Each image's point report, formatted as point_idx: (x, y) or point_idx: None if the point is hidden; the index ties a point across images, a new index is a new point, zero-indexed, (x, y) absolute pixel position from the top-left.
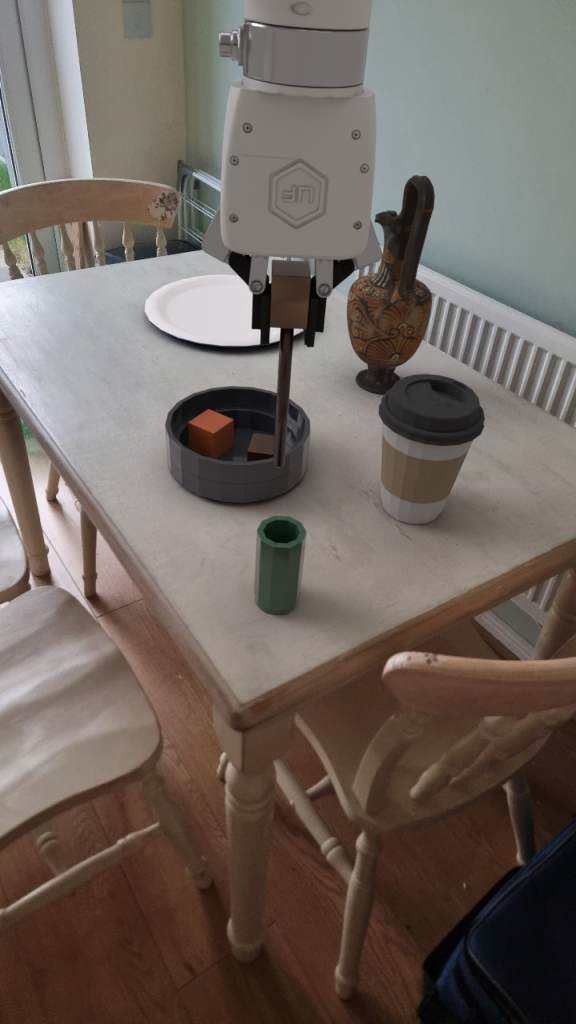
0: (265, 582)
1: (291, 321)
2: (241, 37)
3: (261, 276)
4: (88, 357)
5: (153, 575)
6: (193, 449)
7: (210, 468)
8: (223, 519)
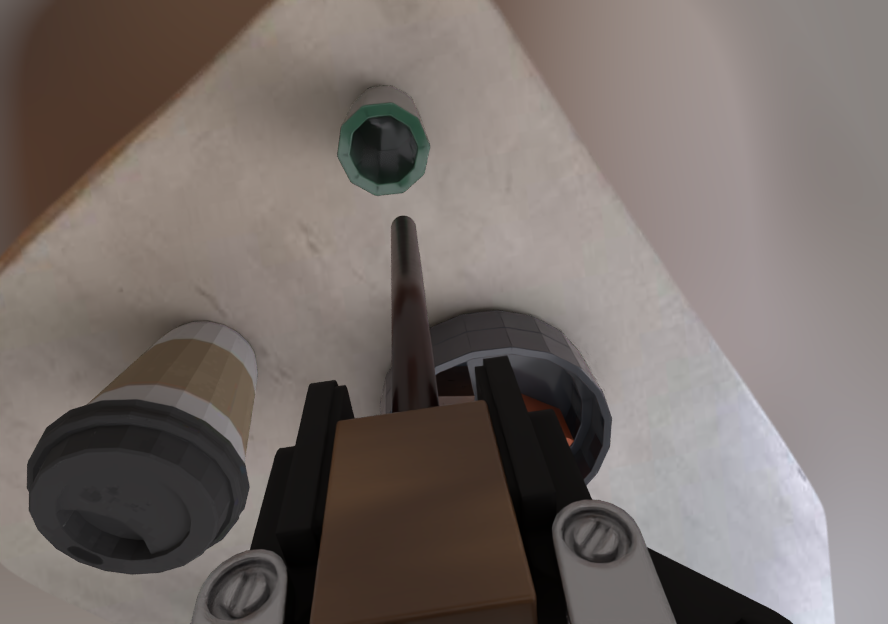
0: (402, 97)
1: (400, 432)
2: None
3: (592, 585)
4: (720, 560)
5: (579, 140)
6: (553, 407)
7: (527, 342)
8: (490, 278)
